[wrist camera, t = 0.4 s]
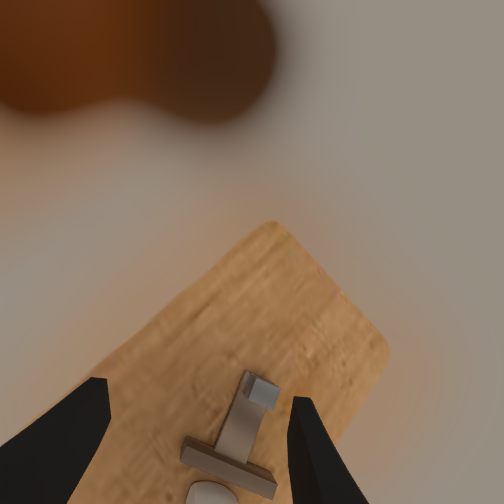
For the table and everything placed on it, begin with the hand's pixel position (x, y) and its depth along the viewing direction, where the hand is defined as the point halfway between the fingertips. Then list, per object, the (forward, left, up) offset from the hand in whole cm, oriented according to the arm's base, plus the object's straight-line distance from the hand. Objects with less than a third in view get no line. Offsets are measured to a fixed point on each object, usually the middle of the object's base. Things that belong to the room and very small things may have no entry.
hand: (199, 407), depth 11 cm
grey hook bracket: (-5, -9, -27) cm, 28 cm away
